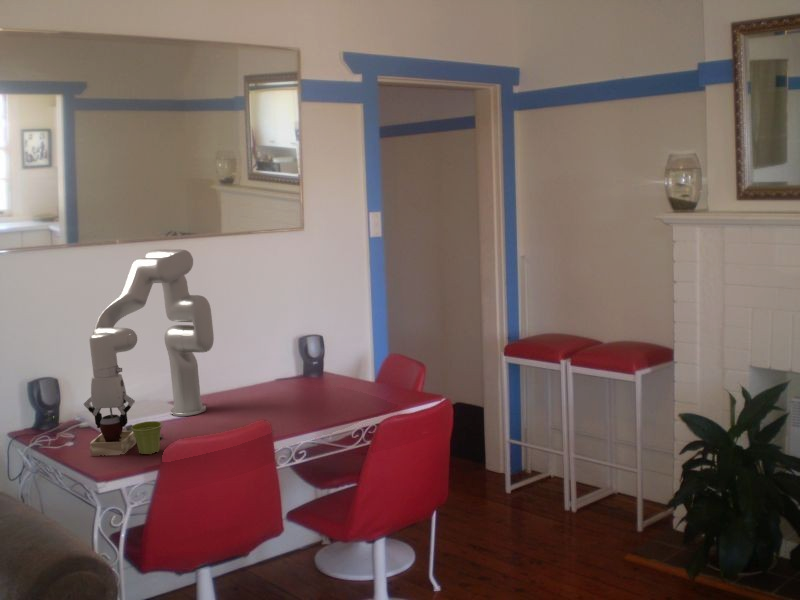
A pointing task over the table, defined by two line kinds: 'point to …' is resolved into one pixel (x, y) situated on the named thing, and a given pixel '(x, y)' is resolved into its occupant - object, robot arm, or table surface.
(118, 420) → the mate gourd
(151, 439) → the plant pot
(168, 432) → the table surface
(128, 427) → the clip
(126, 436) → the holder
